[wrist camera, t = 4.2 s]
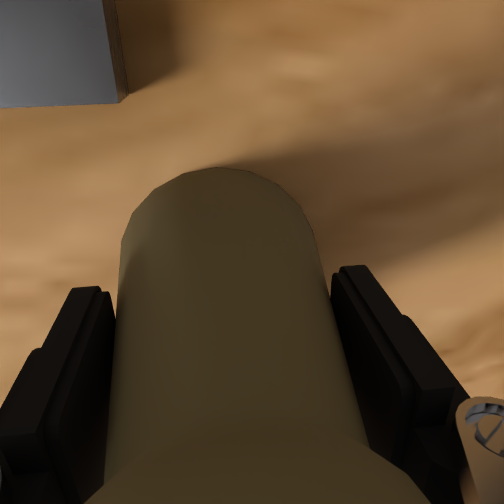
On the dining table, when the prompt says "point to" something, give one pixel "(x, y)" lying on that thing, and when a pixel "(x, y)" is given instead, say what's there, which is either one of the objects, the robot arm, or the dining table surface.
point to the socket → (60, 53)
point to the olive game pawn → (232, 359)
